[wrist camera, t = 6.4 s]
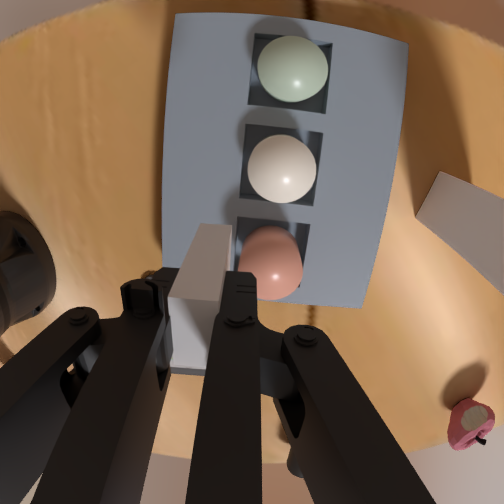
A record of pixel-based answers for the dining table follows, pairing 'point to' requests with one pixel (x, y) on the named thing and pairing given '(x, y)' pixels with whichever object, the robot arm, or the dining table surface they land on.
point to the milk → (468, 224)
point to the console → (290, 123)
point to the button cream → (281, 168)
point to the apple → (469, 424)
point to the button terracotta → (272, 261)
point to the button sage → (292, 69)
